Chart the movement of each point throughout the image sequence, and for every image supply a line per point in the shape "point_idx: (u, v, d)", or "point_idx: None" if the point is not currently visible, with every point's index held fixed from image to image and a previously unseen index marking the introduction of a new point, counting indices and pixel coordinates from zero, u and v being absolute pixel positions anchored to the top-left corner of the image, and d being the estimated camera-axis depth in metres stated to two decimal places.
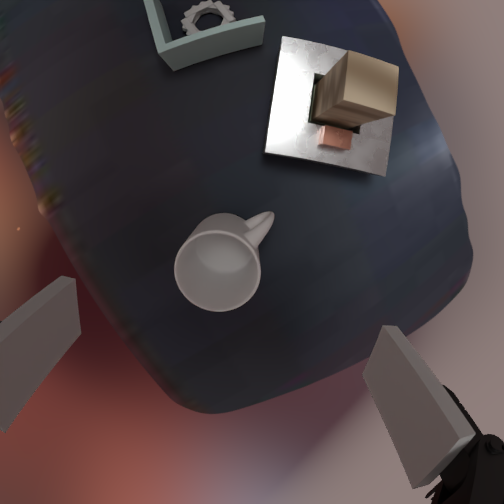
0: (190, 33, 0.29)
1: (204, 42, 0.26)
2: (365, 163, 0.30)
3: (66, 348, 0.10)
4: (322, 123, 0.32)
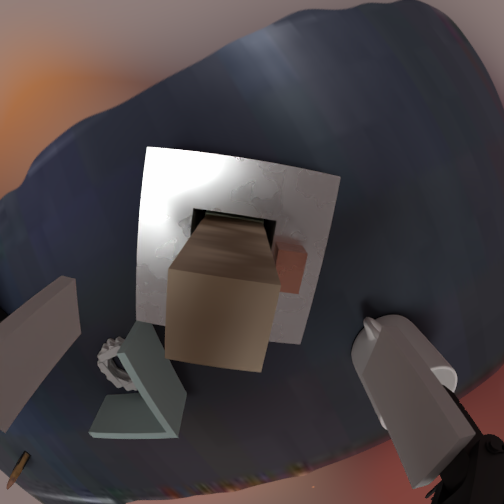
0: None
1: (160, 397, 0.26)
2: (322, 211, 0.21)
3: (66, 348, 0.10)
4: None
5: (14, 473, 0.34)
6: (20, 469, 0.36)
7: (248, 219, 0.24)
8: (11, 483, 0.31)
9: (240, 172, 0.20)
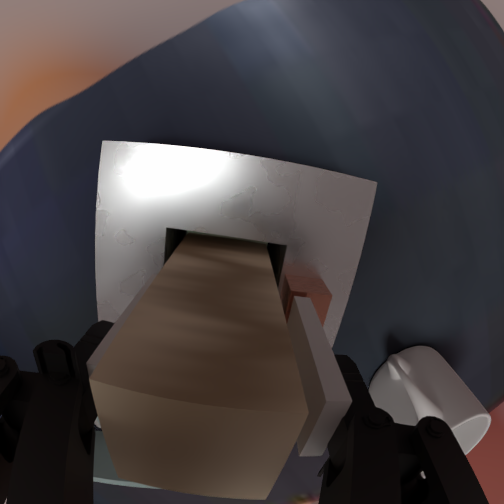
0: None
1: None
2: (350, 231, 0.15)
3: None
4: None
5: None
6: None
7: (246, 239, 0.17)
8: None
9: (233, 175, 0.14)
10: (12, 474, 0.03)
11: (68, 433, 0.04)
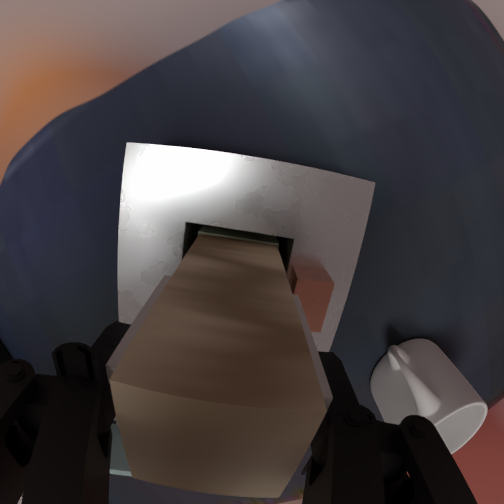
0: None
1: None
2: (351, 226, 0.16)
3: None
4: None
5: None
6: None
7: (257, 241, 0.17)
8: None
9: (247, 175, 0.15)
10: (28, 478, 0.03)
11: (87, 437, 0.04)
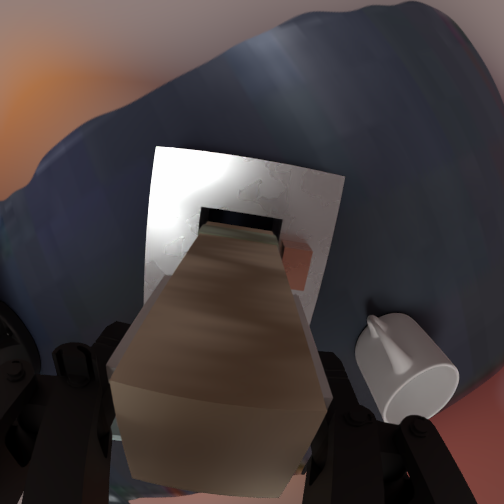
0: None
1: None
2: (326, 210, 0.21)
3: None
4: None
5: None
6: None
7: (257, 241, 0.17)
8: None
9: (247, 172, 0.21)
10: (28, 478, 0.03)
11: (87, 437, 0.04)
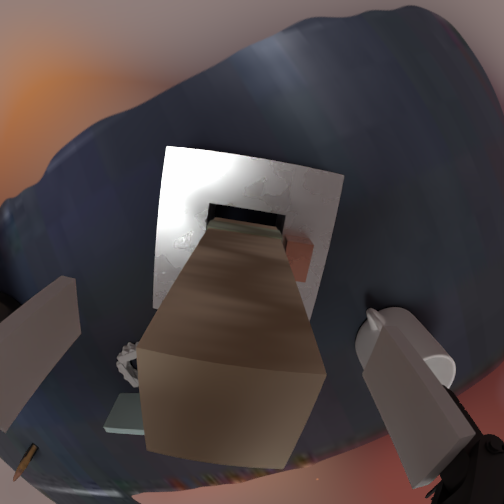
0: None
1: None
2: (327, 206, 0.23)
3: (66, 348, 0.10)
4: None
5: (21, 465, 0.37)
6: (27, 461, 0.39)
7: (262, 235, 0.18)
8: (18, 475, 0.34)
9: (252, 170, 0.22)
10: None
11: None
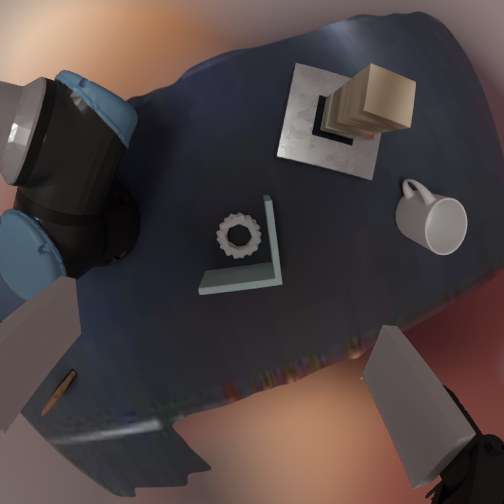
0: (250, 252, 0.47)
1: None
2: None
3: (66, 348, 0.10)
4: None
5: (58, 390, 0.49)
6: (65, 387, 0.52)
7: None
8: (53, 401, 0.47)
9: (342, 82, 0.35)
10: None
11: None
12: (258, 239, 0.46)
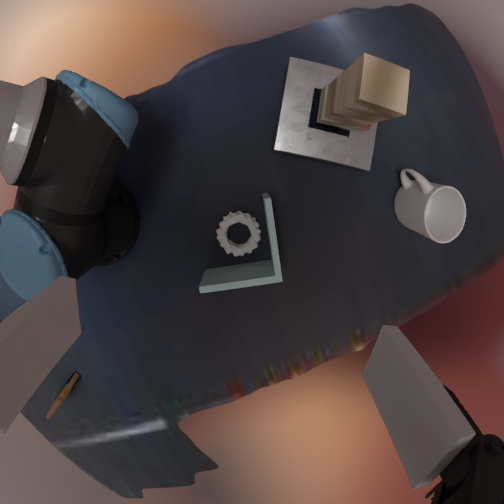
0: (250, 250, 0.47)
1: None
2: None
3: (66, 348, 0.10)
4: None
5: (62, 393, 0.50)
6: (69, 389, 0.52)
7: None
8: (58, 403, 0.47)
9: (336, 74, 0.35)
10: None
11: None
12: (258, 237, 0.46)
